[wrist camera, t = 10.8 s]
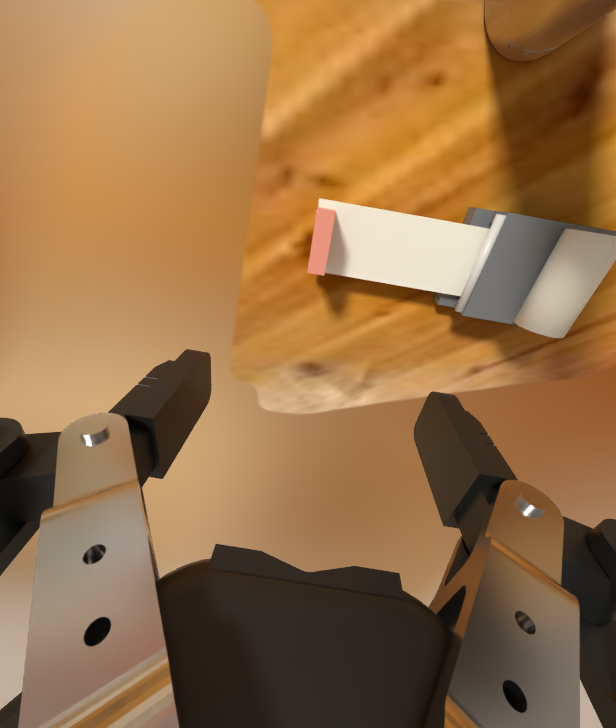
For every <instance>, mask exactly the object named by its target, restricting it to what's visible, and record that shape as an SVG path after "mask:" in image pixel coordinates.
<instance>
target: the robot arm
mask: <svg viewBox="0 0 616 728" xmlns="http://www.w3.org/2000/svg"><path fill="white" fill-rule="evenodd" d="M614 10H616V0H485V14H484V17H485V24H486V31H487V33H488V36H489V39H490V41H491V43H492V45H493V46H494V48H495V49H496V50H497V52H498V53H500V54H501V55H502V56H504V57H505V58H507V59H510V60H513V61H520V62H527V61H531V60H535V59H538V58H540V57H542V56H544V55H547V54H549V53H550V52H552V51H553V50H555V49H556V48H558V47H559V46H561V45H562V44H564V43H565V42H567V41H568V40H570V39H571V38H573V37H574V36H576V35H577V34H579V33H581V32H582V31H584V30H585V29H587V28H588V27H590V26H591V25H593V24H594V23H596V22H597V21H599V20H601V19H602V18H604V17H605V16H607V15H608V14H610V13H611V12H613V11H614ZM210 395H211V358H210V354H209V353H207V352H201V351H195V350H189V349H187V350H185V351H184V352H183V353H182V354H181V355H180V356H179V357H178V359H176V360H175V361H170V360H169V361H167V362H165V363H162V364H160V365H158V366H156V367H155V368H154V369H153V370H152V371H151V372H149V373H148V374H147V375H146V378H143V379H142V380H141V381H140V382H139V383H138V385H136V386H135V387H134V388H133V389H132V390H131V391H130V392H129V393H128V394H127V395H126V396H125V397H123V398H122V399H121V400H120V401H119V402H118V403H117V404H116V405H115V406H114V407H113V408H112V409H111V410H110V411H109V412H108V413H98V414H93V415H89V416H86V417H83V418H81V419H79V420H76V421H75V422H73V423H71V424H70V425H69V426H67V427H66V428H65V429H64V430H63V431H62V432H52V433H38V434H25V432H24V430H23V429H22V426H21V424H20V423H19V422H18V421H16V420H14V419H9V418H0V575H1V574H2V573H3V572H4V570H5V569H6V568H7V567H8V565H9V564H10V563H11V562H12V561H13V559H14V558H15V557H16V556H17V554H18V553H19V552H20V551H21V550H22V548H23V547H24V546H25V545H26V543H27V542H28V541H29V540H30V539H31V537H32V536H33V535H34V534H35V532H36V531H37V530H38V529H39V538H38V546H37V556H36V565H35V575H34V584H33V594H32V603H31V612H30V622H29V632H28V641H27V650H26V660H25V670H24V678H23V688H22V692H21V693H20V694H19V695H18V696H16V697H15V698H14V699H13V700H12V701H10V702H9V703H8V704H7V705H6V706H4V707H3V708H2V709H1V710H0V728H580V680H581V682H582V684H583V686H584V688H585V690H586V692H587V695H588V697H589V699H590V701H591V703H592V705H593V707H594V709H595V711H596V713H597V715H598V718H599V720H600V722H601V724H602V726H603V728H616V520H615V519H605V520H603V521H602V522H601V523H600V524H598V525H597V526H596V527H595V528H594V529H592V528H590V527H588V526H585V525H583V524H580V523H578V522H576V521H573V520H571V519H568V518H566V517H564V516H562V514H561V512H560V510H559V509H558V507H557V506H556V505H555V504H554V503H553V502H552V501H551V500H550V499H549V498H548V497H547V496H546V495H545V494H543V493H542V492H541V491H539V490H538V489H536V488H535V487H533V486H531V485H529V484H527V483H524V482H521V481H518V479H517V478H516V476H515V475H514V473H513V472H512V470H511V469H510V467H509V466H508V464H507V463H506V461H505V460H504V458H503V457H502V455H501V453H500V452H499V450H498V449H497V447H496V446H494V443H493V442H492V440H491V438H490V437H489V436H487V432H486V431H485V429H484V428H483V426H482V425H481V423H480V422H479V421H478V420H477V419H476V418H475V417H473V415H471V414H470V413H469V412H468V411H465V410H464V408H463V407H462V405H461V403H460V402H459V400H458V399H457V397H456V396H455V395H451V394H446V393H440V392H431V393H430V394H429V395H428V397H427V400H426V401H425V404H424V406H423V408H422V411H421V413H420V415H419V417H418V419H417V421H416V424H415V427H414V440H415V443H416V446H417V449H418V452H419V455H420V458H421V461H422V464H423V467H424V470H425V473H426V476H427V479H428V482H429V485H430V487H431V490H432V494H433V497H434V500H435V502H436V505H437V509H438V511H439V514H440V517H441V520H442V523H443V525H444V526H448V527H454V528H459V529H460V531H461V534H462V536H461V537H460V539H459V540H458V542H457V544H456V546H455V549H454V551H453V554H452V556H451V558H450V561H449V564H448V566H447V568H446V571H445V573H444V576H443V578H442V581H441V583H440V586H439V588H438V590H437V593H436V595H435V597H434V598H433V600H432V602H431V604H430V605H429V607H427V606H426V605H424V604H423V603H422V602H421V601H419V600H418V599H416V598H415V597H413V596H411V595H410V594H408V593H407V592H405V591H403V590H402V585H401V580H400V574H399V573H395V572H389V571H382V570H375V569H369V568H363V567H357V566H352V567H345V568H338V569H331V570H324V571H317V572H304V571H302V570H300V569H298V568H296V567H293V566H291V565H289V564H287V563H285V562H283V561H281V560H279V559H277V558H275V557H273V556H270V555H268V554H266V553H264V552H262V551H257V550H251V549H245V548H238V547H232V546H226V545H219V544H216V545H215V548H214V551H213V554H212V557H211V559H205V560H200V561H197V562H193V563H190V564H187V565H185V566H182V567H180V568H178V569H176V570H174V571H172V572H170V573H168V574H166V575H165V576H163V577H162V578H159V573H158V568H157V563H156V558H155V553H154V548H153V543H152V538H151V532H150V527H149V522H148V516H147V511H146V506H145V500H144V495H143V490H142V487H143V485H144V483H145V482H146V480H147V479H148V477H154V478H160V479H163V478H164V476H165V474H166V473H167V471H168V469H169V467H170V466H171V464H172V463H173V461H174V459H175V458H176V456H177V454H178V453H179V451H180V449H181V448H182V446H183V444H184V443H185V441H186V439H187V438H188V436H189V434H190V432H191V431H192V429H193V428H194V426H195V424H196V423H197V421H198V419H199V418H200V416H201V414H202V413H203V411H204V409H205V408H206V406H207V404H208V402H209V399H210Z"/></svg>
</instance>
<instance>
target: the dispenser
mask: <svg viewBox="0 0 616 728" xmlns="http://www.w3.org/2000/svg"><path fill="white" fill-rule="evenodd" d="M463 224H466V225H472V226H478V227H483V228H489V229H490V230H489V232H488V234H487V237H486V239H485V241H484V244H483V246H482V248H481V251H480V253H479V255H478V257H477V260H476V262H475V264H474V267H473V269H472V271H471V274H470V276H469V278H468V280H467V283H466V285H465V287H464V290H463V292H462V294H461V296H456V295H450V294H444V293H438V292H436V294H435V296H434V299H433V300H434V301H435V302H436V303H437V304H438V305H443V306H449V307H453V308H455V311H457V312H459V313H460V314H461V315H462V316H467V317H473V318H479V319H484V320H490V321H496V322H502V323H507V324H513V325H518V326H520V327H522V328H524V329H526V330H529V331H531V332H534V333H537V334H540V335H544V336H548V337H553V338H564V337H565V335H566V334H567V332H568V331H569V329H570V328H571V326H572V325H573V323H574V322H575V320H576V319H577V317H578V316H579V314H580V313H581V311H582V310H583V308H584V307H585V305H586V304H587V302H588V301H589V299H590V298H591V296H592V295H593V293H594V292H595V290H596V289H597V287H598V286H599V284H600V283H601V282H602V280H603V279H604V277H605V276H606V274H607V273H608V271H609V270H610V268H611V267H612V265H613V264H614V262H615V261H616V231H610V230H604V229H599V228H593V227H588V226H582V225H576V224H571V223H565V222H560V221H554V220H549V219H543V218H537V217H532V216H526V215H521V214H515V213H509V212H498V211H491V210H485V209H480V208H471V207H469V208H468V211H467V214H466V216H465V219H464V221H463Z"/></svg>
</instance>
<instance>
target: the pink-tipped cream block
mask: <svg viewBox="0 0 616 728" xmlns="http://www.w3.org/2000/svg"><path fill="white" fill-rule="evenodd" d="M489 230H490V229H489V228H483V227H478V226H472V225H466V224H461V223H455V222H449V221H444V220H438V219H433V218H427V217H421V216H416V215H410V214H404V213H399V212H393V211H388V210H382V209H376V208H371V207H365V206H360V205H354V204H348V203H343V202H337V201H331V200H326V199H320V198H319V205H318V208H317V212H316V219H315V225H314V232H313V239H312V246H311V252H310V259H309V266H308V272H307V273H311V274H317V275H323V276H324V275H325V273H329V274H335V275H341V276H347V277H352V278H358V279H364V280H369V281H375V282H381V283H387V284H392V285H398V286H404V287H410V288H415V289H421V290H427V291H433V292H438V293H444V294H450V295H456V296H461V294H462V292H463V290H464V287H465V285H466V283H467V280H468V278H469V276H470V274H471V271H472V269H473V267H474V264H475V262H476V260H477V257H478V255H479V253H480V251H481V248H482V246H483V244H484V241H485V239H486V237H487V234H488V232H489Z"/></svg>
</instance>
